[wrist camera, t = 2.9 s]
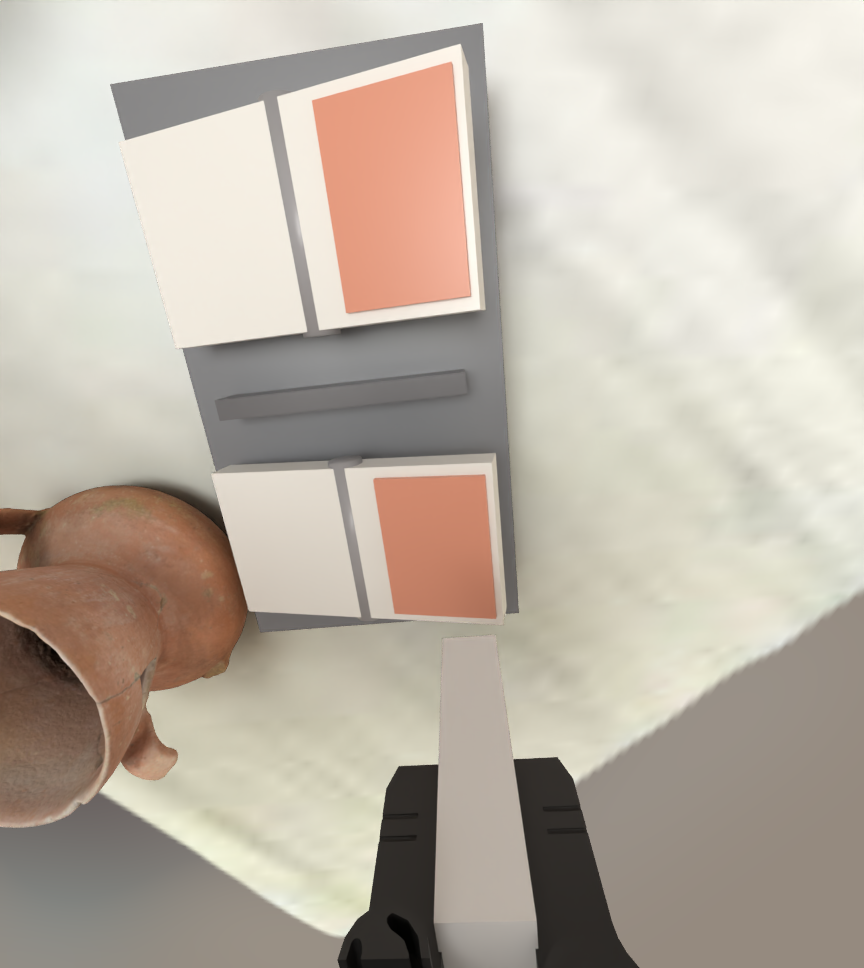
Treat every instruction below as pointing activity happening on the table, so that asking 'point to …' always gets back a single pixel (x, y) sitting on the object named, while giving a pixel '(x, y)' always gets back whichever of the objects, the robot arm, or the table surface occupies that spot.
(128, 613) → the ceramic jug
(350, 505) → the breaker
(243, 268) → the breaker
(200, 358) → the breaker panel
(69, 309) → the table surface
